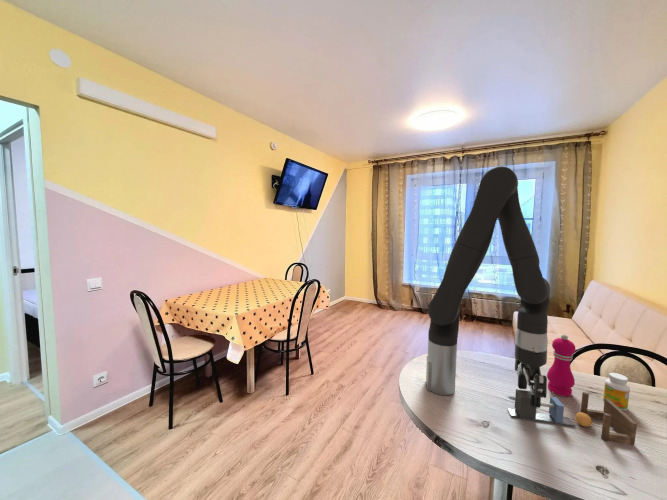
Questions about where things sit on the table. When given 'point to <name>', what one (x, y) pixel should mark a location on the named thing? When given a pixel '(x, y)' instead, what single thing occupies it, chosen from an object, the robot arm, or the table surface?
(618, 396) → the supplement bottle
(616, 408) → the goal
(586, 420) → the ball
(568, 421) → the rail
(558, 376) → the pepper mill
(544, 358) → the robot arm
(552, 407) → the rod
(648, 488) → the table surface
